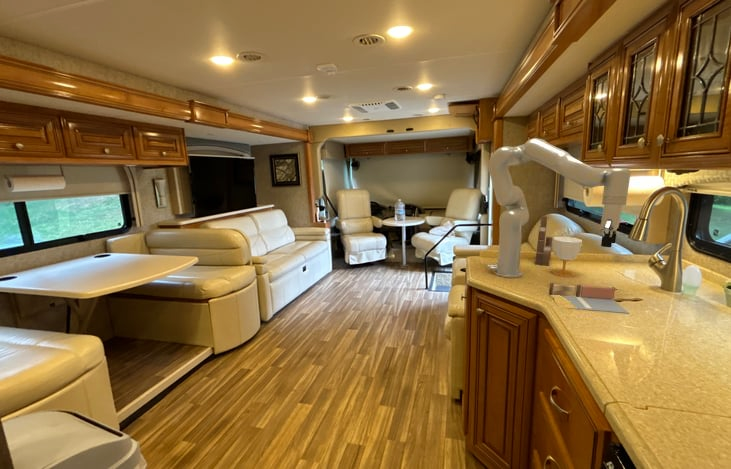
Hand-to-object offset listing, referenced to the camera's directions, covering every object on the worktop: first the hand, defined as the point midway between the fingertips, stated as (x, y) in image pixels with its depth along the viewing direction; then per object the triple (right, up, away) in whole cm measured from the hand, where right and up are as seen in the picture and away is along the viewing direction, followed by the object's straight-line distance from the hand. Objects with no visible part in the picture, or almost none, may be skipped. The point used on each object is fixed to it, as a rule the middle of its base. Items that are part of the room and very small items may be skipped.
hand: (608, 244), depth 130 cm
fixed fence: (-17, -20, +1) cm, 26 cm away
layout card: (-12, -22, -5) cm, 26 cm away
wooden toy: (0, -11, +48) cm, 50 cm away
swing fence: (-5, -20, -1) cm, 21 cm away
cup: (-1, -15, +28) cm, 32 cm away
